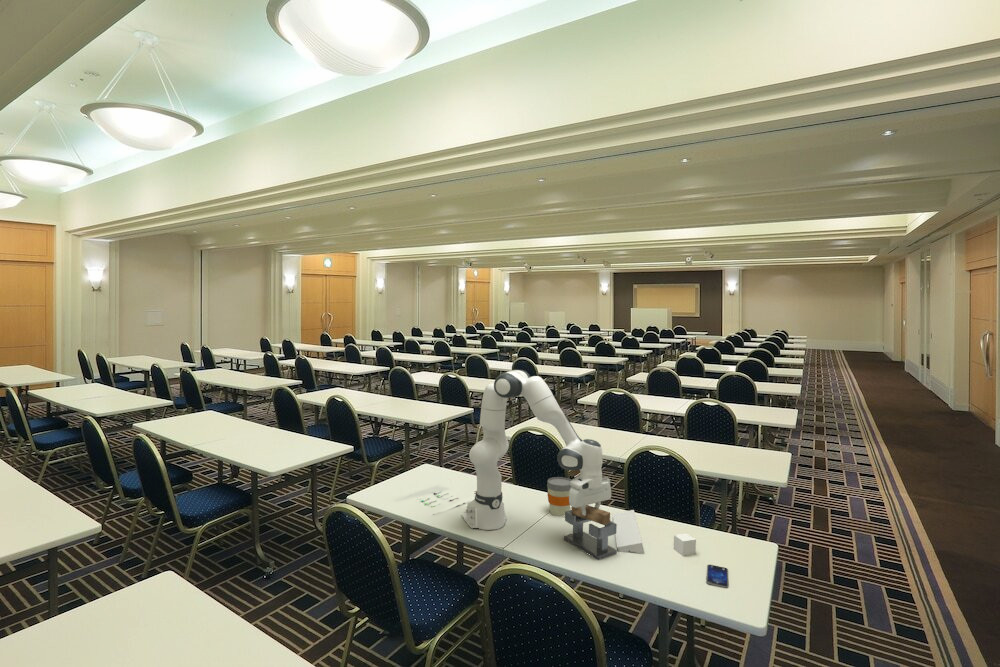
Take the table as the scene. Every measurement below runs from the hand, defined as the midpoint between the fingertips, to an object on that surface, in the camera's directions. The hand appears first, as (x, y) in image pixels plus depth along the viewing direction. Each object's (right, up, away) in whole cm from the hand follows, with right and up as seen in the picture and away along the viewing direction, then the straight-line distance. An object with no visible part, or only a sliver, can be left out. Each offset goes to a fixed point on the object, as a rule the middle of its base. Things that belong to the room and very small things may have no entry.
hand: (590, 513), depth 209 cm
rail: (0, -2, 0) cm, 2 cm away
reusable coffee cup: (-8, -12, +36) cm, 39 cm away
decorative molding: (+18, -14, +13) cm, 26 cm away
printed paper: (-70, -11, +50) cm, 86 cm away
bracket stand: (0, -14, +1) cm, 14 cm away
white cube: (+37, -15, -3) cm, 40 cm away
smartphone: (+43, -16, -22) cm, 50 cm away
